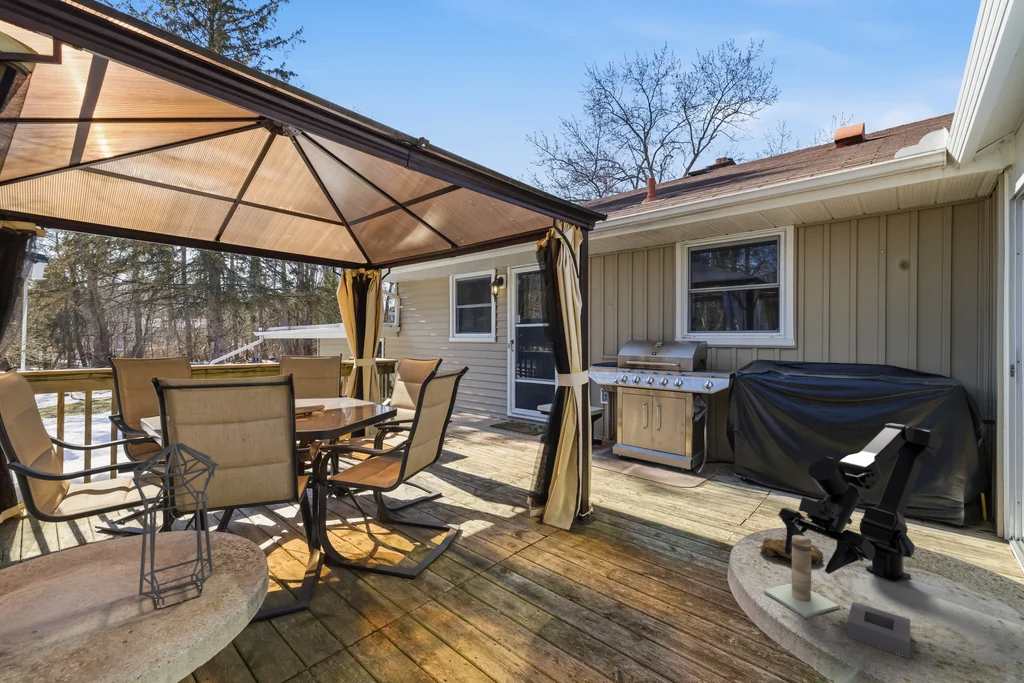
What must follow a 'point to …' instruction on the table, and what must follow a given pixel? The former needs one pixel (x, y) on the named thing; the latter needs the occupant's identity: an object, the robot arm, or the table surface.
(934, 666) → the table surface
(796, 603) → the mat
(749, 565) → the table surface
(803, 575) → the plug
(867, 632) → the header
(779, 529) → the table surface
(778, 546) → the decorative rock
